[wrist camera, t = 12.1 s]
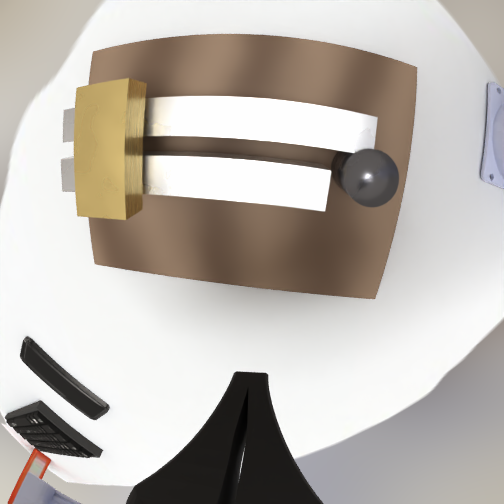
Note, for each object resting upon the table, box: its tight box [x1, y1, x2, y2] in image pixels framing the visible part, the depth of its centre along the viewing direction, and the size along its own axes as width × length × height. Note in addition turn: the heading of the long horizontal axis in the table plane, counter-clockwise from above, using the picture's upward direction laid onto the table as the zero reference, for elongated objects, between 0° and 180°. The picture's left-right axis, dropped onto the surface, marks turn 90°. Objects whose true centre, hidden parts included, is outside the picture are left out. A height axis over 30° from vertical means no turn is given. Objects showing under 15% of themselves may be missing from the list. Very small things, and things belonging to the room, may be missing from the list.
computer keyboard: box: [5, 401, 103, 458], centre depth 42 cm, size 45×16×4 cm, turn 125°
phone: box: [20, 337, 110, 420], centre depth 29 cm, size 8×1×15 cm
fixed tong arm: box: [63, 96, 399, 207], centre depth 14 cm, size 18×4×4 cm, turn 85°
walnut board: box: [89, 34, 417, 299], centre depth 16 cm, size 21×16×1 cm
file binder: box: [8, 449, 51, 504], centre depth 49 cm, size 8×17×32 cm, turn 138°
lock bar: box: [74, 78, 147, 220], centre depth 11 cm, size 3×6×2 cm, turn 175°
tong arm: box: [61, 151, 331, 211], centre depth 14 cm, size 15×2×3 cm, turn 85°
